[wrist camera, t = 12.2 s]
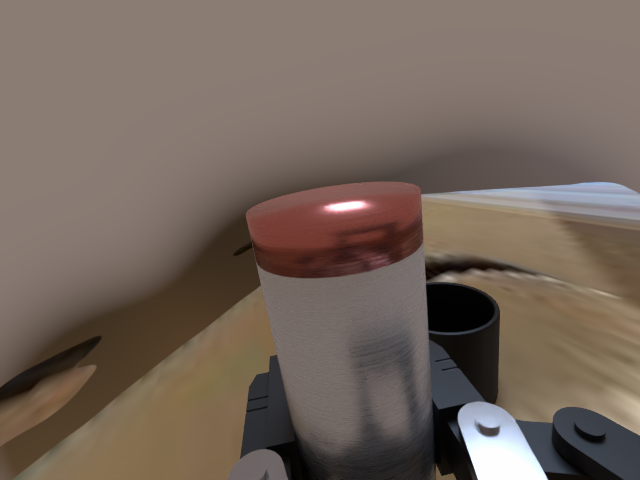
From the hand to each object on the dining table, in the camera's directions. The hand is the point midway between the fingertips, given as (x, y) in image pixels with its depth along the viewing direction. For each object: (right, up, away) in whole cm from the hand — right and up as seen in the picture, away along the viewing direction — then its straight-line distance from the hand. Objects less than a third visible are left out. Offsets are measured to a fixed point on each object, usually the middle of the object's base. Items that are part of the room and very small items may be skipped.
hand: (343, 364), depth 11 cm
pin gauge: (+2, -9, 0) cm, 9 cm away
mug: (+12, -10, +23) cm, 28 cm away
